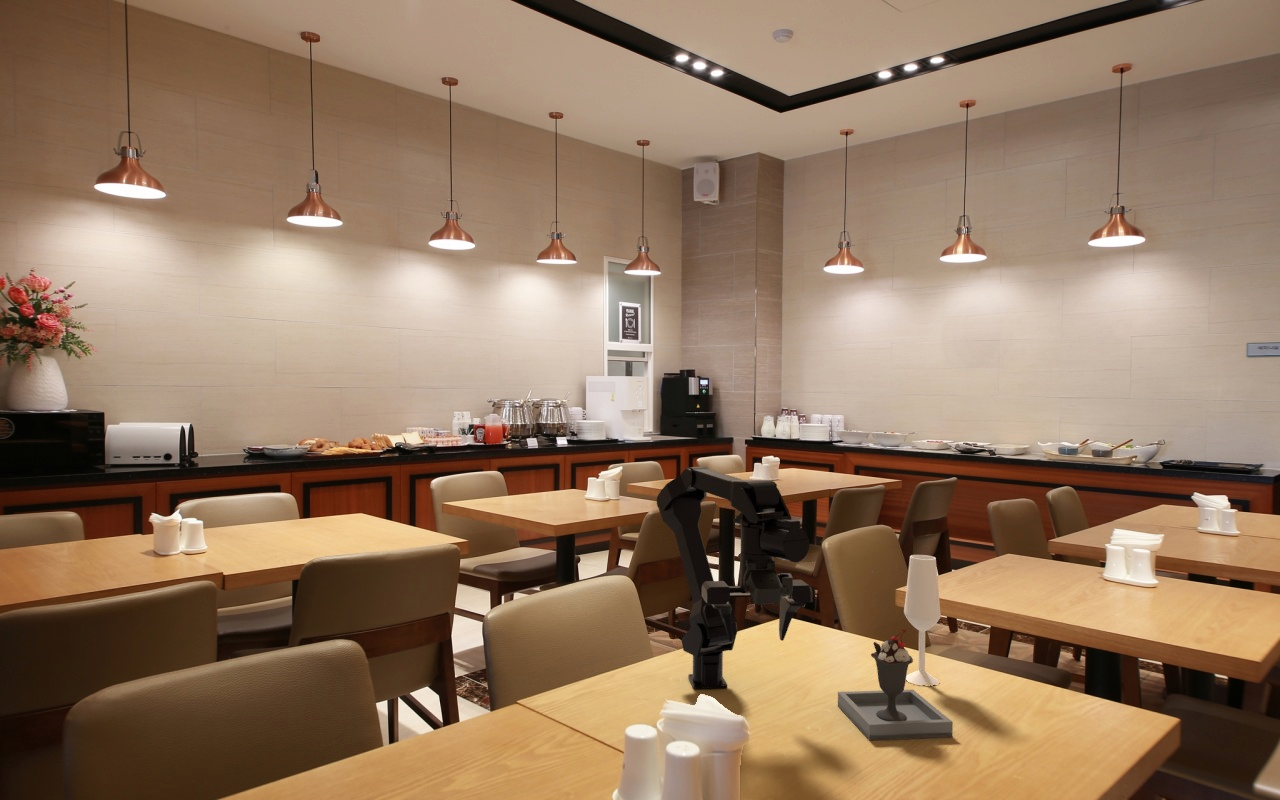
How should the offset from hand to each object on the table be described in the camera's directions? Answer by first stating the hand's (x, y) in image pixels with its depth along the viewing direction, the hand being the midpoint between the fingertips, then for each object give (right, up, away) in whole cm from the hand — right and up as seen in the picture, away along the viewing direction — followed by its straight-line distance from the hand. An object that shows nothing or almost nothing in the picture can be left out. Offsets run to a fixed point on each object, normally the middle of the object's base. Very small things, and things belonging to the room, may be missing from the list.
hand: (756, 640), depth 137 cm
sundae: (+22, -12, -5) cm, 26 cm away
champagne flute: (+35, -13, +15) cm, 40 cm away
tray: (+23, -12, -5) cm, 26 cm away
